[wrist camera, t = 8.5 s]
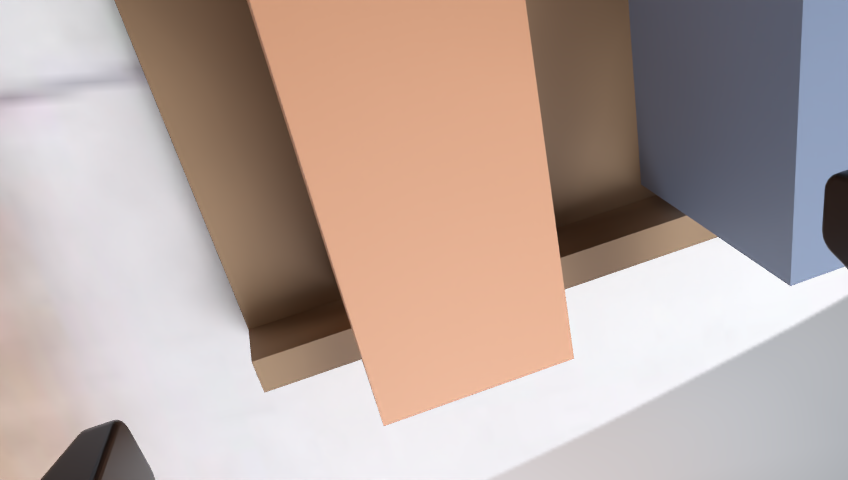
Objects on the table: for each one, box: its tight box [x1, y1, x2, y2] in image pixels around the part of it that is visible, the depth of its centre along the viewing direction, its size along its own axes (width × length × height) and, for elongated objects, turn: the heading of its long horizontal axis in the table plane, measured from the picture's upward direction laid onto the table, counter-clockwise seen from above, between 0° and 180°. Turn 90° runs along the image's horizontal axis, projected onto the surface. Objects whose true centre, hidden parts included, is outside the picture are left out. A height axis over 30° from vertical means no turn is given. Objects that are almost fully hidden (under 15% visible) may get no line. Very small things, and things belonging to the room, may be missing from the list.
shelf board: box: [115, 0, 718, 392], centre depth 16 cm, size 18×11×8 cm, turn 102°
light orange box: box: [247, 0, 574, 426], centre depth 15 cm, size 4×9×6 cm, turn 12°
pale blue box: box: [628, 0, 848, 286], centre depth 16 cm, size 4×9×6 cm, turn 12°
